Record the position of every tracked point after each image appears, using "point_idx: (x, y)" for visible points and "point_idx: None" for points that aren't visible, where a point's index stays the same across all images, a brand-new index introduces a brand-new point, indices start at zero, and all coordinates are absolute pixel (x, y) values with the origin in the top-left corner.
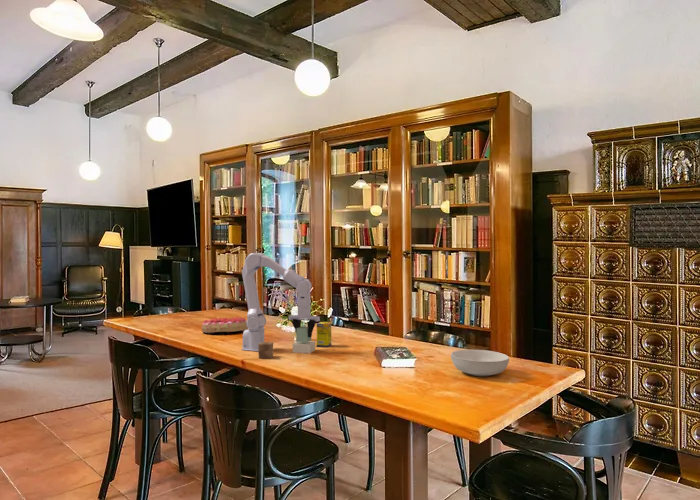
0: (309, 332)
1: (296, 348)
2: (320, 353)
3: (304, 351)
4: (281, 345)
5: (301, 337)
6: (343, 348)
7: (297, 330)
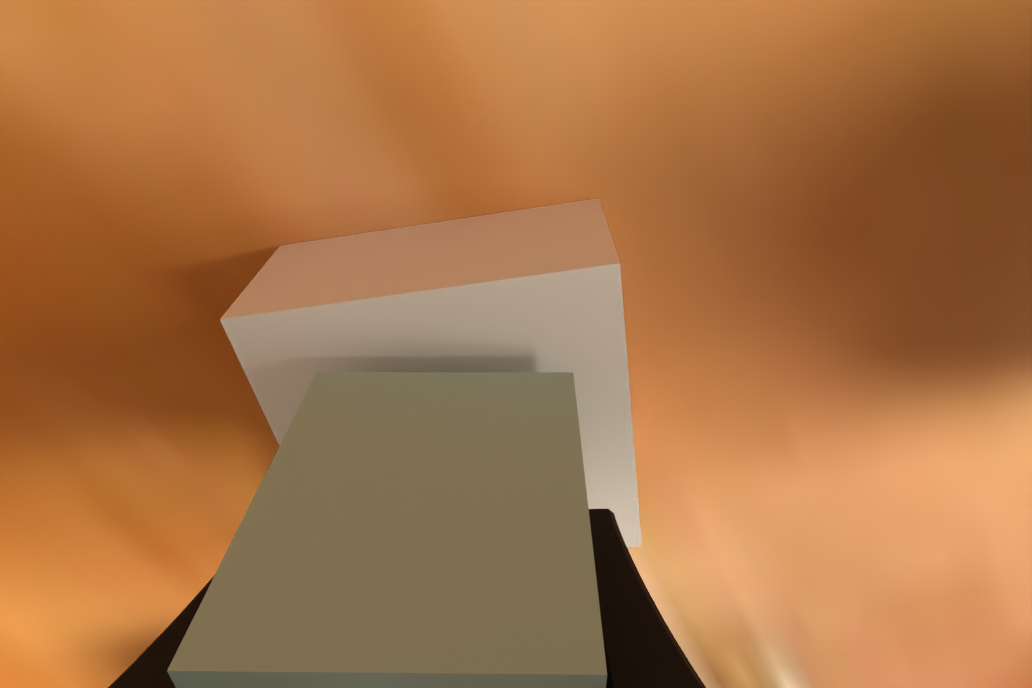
0: (198, 606)
1: (528, 237)
2: (120, 289)
3: (375, 242)
4: (936, 548)
5: (433, 442)
6: (99, 611)
7: (558, 598)
